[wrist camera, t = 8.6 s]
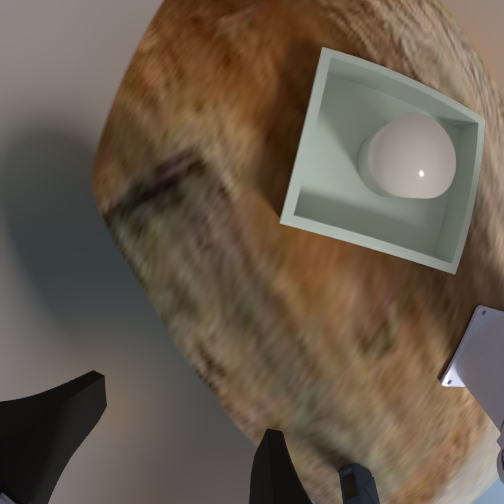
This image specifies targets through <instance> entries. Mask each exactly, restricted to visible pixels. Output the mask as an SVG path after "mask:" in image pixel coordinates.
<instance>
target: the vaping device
mask: <svg viewBox="0 0 504 504" xmlns="http://www.w3.org/2000/svg"><path fill="white" fill-rule="evenodd" d="M339 477H340V484H341V491H342V499H343V504H380V502H379V497H378V493H377V489H376V484H375V480H374V477H372V474H371V472H369V471H368V470H366V469H364V468H363V467H361V466H359V465H358V464H353V465H349V466H347V467H345V468H343V469H342V470H341V471H339Z"/></svg>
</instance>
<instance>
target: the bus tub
mask: <svg viewBox="0 0 504 504" xmlns="http://www.w3.org/2000/svg"><path fill="white" fill-rule="evenodd" d="M407 113H420V114H424V115H426V116H428V117H430V118H432V119H434V120H435V121H436V122H438V123H439V124H440V125H441V126H442V127H443V129H444V130H445V131H446V133H447V134H448V136H449V138H450V139H451V142H452V144H453V147H454V150H455V156H456V170H455V175H454V178H453V181H452V183H451V185H450V186H449V187H448V189H447V190H446V191H445V192H444V193H442V194H441V195H439V196H437V197H434V198H428V199H426V198H387V197H382V196H379V195H377V194H375V193H374V192H372V191H371V190H370V189H369V188H368V187H367V186H366V185H365V183H364V182H363V180H362V179H361V177H360V174H359V171H358V167H357V155H358V151H359V148H360V146H361V144H362V143H363V141H364V140H365V139H366V138H368V137H369V136H370V135H372V134H373V133H375V132H376V131H378V130H380V129H381V128H383V127H384V126H386V125H387V124H389V123H390V122H392V121H394V120H395V119H397V118H398V117H400V116H402V115H404V114H407ZM484 127H485V119H483V118H482V117H480V116H479V115H477V114H476V113H474V112H473V111H471V110H469V109H468V108H466V107H464V106H463V105H461V104H459V103H458V102H456V101H454V100H452V99H451V98H449V97H447V96H445V95H443V94H442V93H440V92H438V91H436V90H434V89H432V88H430V87H428V86H426V85H424V84H422V83H420V82H418V81H415V80H413V79H411V78H409V77H407V76H404V75H402V74H400V73H397V72H395V71H393V70H390V69H388V68H385V67H383V66H380V65H377V64H375V63H372V62H369V61H366V60H364V59H361V58H358V57H355V56H352V55H348V54H345V53H342V52H339V51H335V50H332V49H328V48H324V47H322V50H321V54H320V57H319V61H318V64H317V68H316V73H315V77H314V81H313V86H312V90H311V94H310V99H309V103H308V107H307V111H306V115H305V120H304V124H303V128H302V132H301V136H300V140H299V144H298V149H297V153H296V157H295V161H294V165H293V169H292V173H291V177H290V181H289V185H288V189H287V193H286V197H285V201H284V204H283V208H282V212H281V216H280V223H281V224H285V225H288V226H292V227H296V228H300V229H303V230H307V231H311V232H314V233H318V234H322V235H325V236H329V237H333V238H336V239H340V240H343V241H347V242H350V243H354V244H357V245H361V246H364V247H367V248H371V249H374V250H378V251H381V252H384V253H388V254H391V255H394V256H398V257H401V258H404V259H407V260H411V261H414V262H417V263H420V264H423V265H426V266H430V267H433V268H436V269H439V270H442V271H445V272H448V273H451V274H454V275H455V274H456V271H457V268H458V265H459V262H460V258H461V255H462V252H463V248H464V245H465V241H466V237H467V234H468V230H469V226H470V222H471V217H472V213H473V208H474V203H475V198H476V193H477V187H478V181H479V175H480V168H481V160H482V151H483V141H484Z"/></svg>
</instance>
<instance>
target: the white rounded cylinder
mask: <svg viewBox="0 0 504 504" xmlns="http://www.w3.org/2000/svg"><path fill="white" fill-rule="evenodd" d="M357 167H358V171H359V174H360V177H361V179H362V180H363V182H364V183H365V185H366V186H367V187H368V188H369V189H370V190H371V191H372V192H374V193H375V194H377V195H379V196H382V197H387V198H426V199H428V198H434V197H437V196H439V195H441V194H442V193H444V192H445V191H446V190H447V189H448V187H449V186H450V185H451V183H452V181H453V178H454V175H455V170H456V156H455V150H454V147H453V144H452V142H451V139H450V138H449V136H448V134H447V133H446V131H445V130H444V129H443V127H442V126H441V125H440V124H439V123H438V122H436V121H435V120H434V119H432V118H430V117H428V116H426V115H424V114H420V113H407V114H404V115H402V116H400V117H398V118H397V119H395V120H394V121H392V122H390V123H389V124H387V125H386V126H384V127H383V128H381V129H380V130H378V131H376V132H375V133H373V134H372V135H370V136H369V137H368V138H366V139H365V140H364V141H363V143H362V144H361V146H360V148H359V151H358V155H357Z"/></svg>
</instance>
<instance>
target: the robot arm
mask: <svg viewBox="0 0 504 504" xmlns="http://www.w3.org/2000/svg"><path fill="white" fill-rule="evenodd" d="M482 312H483V313H482ZM440 383H441V385H442V386H455V387H467V389H468V390H469V391H470V392H471V394H472V395H473V396H474V398H475V399H476V400H477V401H478V403H479V404H480V405H481V407H482V408H483V409H484V411H485V412H486V413H487V415H488V416H489V417H490V419H491V420H492V421H493V423H494V424H495V425H496V427H497V428H498V430H499V431H500V432H501V435H500V437H499V438H498V440H497V443H498V445H499V446H500V448H501V450H500V452H499V454H498V457H497V470H498V474H499V477H500V480H501V482H502V483H503V485H504V312H503V311H500V310H496V309H493V308H489V307H486V306H482V305H479V306H477V307H476V309H475V311H474V314H473V316H472V318H471V321H470V323H469V325H468V328H467V330H466V332H465V334H464V336H463V339H462V341H461V343H460V345H459V347H458V349H457V351H456V353H455V355H454V357H453V359H452V361H451V362H450V364H449V366H448V368H447V370H446V372H445V373H444V375H443V377H442V379H441V381H440ZM106 407H107V402H106V392H105V377H104V375H102V374H100V373H98V372H96V371H94V370H93V371H91V372H88V373H86V374H84V375H82V376H80V377H78V378H75V379H74V380H71V381H69V382H67V383H65V384H62V385H60V386H57V387H55V388H53V389H50V390H47V391H45V392H42V393H39V394H36V395H33V396H29V397H25V398H21V399H16V400H9V401H1V402H0V504H48V502H49V499H50V497H51V495H52V492H53V490H54V488H55V486H56V483H57V481H58V480H59V477H60V476H61V474H62V472H63V470H64V468H65V466H66V465H67V463H68V461H69V459H70V458H71V456H72V455H73V454H74V452H75V451H76V450H77V448H78V447H79V446H80V445H81V443H82V442H83V441H84V439H85V438H86V437H87V436H88V434H89V433H90V432H91V431H92V429H93V428H94V427H95V425H96V424H97V423H98V421H99V419H100V418H101V416H102V414H103V412H104V411H105V409H106ZM249 504H313V503H312V502H311V500H310V499H309V497H308V495H307V494H306V492H305V490H304V488H303V486H302V484H301V482H300V480H299V478H298V476H297V473H296V471H295V468H294V466H293V463H292V461H291V458H290V455H289V452H288V449H287V446H286V443H285V439H284V435H283V433H282V431H278V430H272V429H267V430H266V432H265V434H264V436H263V439H262V441H261V443H260V445H259V447H258V449H257V451H256V454H255V456H254V461H253V466H252V472H251V482H250V498H249Z"/></svg>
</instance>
